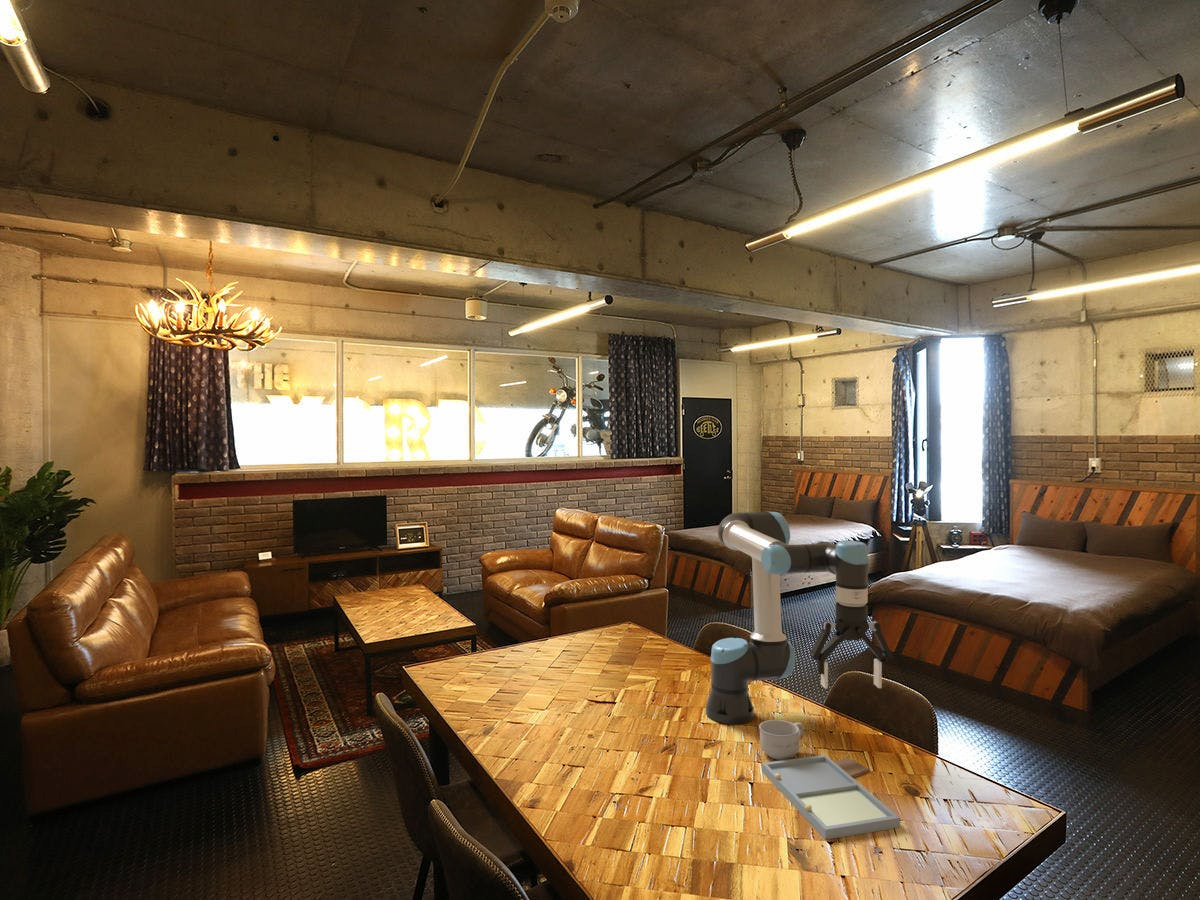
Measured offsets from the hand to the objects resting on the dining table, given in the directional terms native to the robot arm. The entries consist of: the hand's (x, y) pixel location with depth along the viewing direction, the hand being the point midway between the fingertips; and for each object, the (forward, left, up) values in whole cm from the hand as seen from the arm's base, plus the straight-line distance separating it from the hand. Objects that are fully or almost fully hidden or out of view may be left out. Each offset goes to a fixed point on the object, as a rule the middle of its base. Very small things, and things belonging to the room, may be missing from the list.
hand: (850, 686), depth 156 cm
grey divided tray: (+3, -9, -26) cm, 27 cm away
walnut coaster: (-8, +5, -26) cm, 28 cm away
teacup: (-19, -8, -26) cm, 33 cm away
